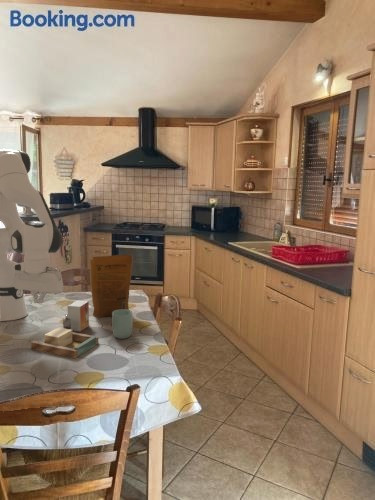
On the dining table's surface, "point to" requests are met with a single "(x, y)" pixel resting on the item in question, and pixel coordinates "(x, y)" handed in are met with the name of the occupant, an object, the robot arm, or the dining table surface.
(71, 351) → the bay
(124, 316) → the cup
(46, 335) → the tan tapered block
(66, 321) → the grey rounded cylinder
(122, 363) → the dining table surface
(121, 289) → the pancake mix bag
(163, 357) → the dining table surface
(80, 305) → the small box
